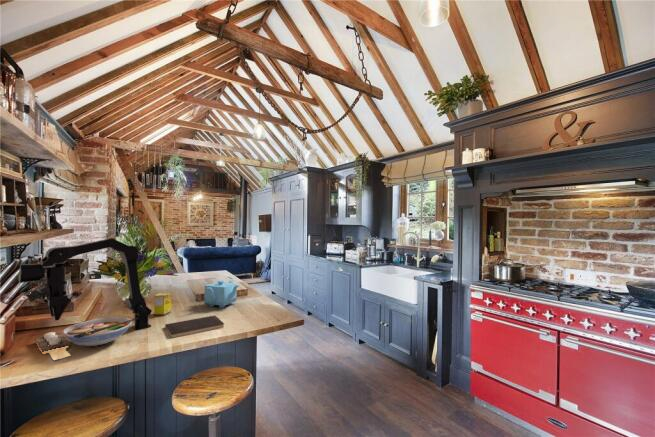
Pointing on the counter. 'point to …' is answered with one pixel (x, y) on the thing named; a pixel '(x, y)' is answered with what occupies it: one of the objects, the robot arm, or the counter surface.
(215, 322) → the hardcover book
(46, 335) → the button
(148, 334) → the counter surface
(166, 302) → the supplement box
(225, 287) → the teakettle
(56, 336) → the button
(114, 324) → the ramen bowl
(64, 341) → the button board
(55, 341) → the button
